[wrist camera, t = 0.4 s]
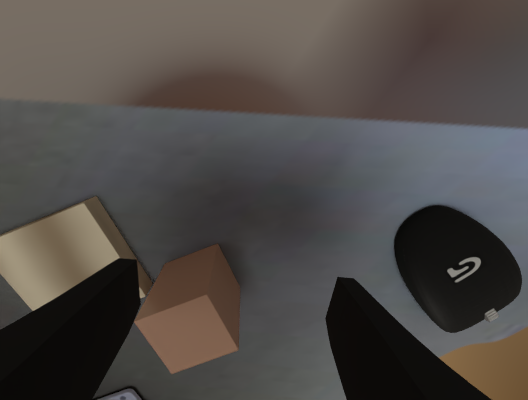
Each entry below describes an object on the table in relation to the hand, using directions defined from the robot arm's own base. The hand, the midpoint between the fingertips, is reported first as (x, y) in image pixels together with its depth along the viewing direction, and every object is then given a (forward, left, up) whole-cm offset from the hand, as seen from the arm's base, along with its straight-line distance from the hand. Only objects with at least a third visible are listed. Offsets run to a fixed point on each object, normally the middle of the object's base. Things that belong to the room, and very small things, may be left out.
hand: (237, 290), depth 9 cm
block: (-5, -5, -10) cm, 12 cm away
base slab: (-13, 0, -11) cm, 17 cm away
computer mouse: (+14, -12, -11) cm, 21 cm away
